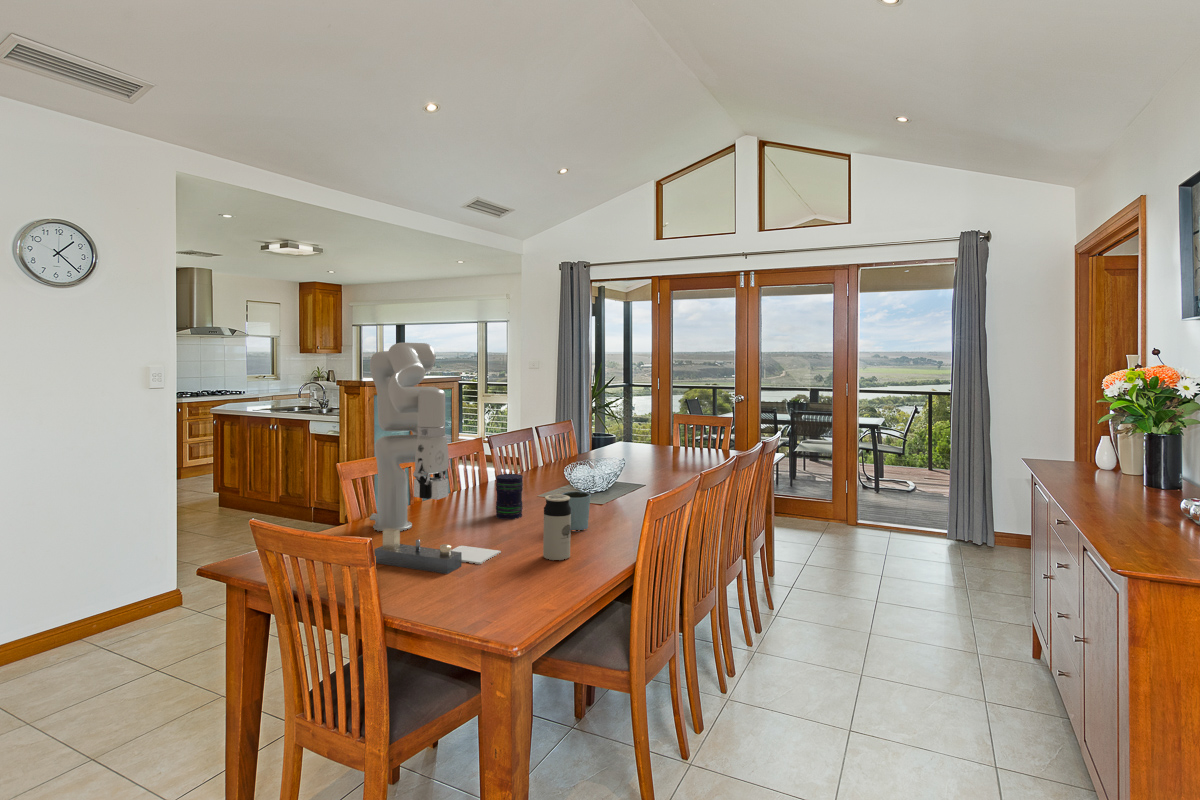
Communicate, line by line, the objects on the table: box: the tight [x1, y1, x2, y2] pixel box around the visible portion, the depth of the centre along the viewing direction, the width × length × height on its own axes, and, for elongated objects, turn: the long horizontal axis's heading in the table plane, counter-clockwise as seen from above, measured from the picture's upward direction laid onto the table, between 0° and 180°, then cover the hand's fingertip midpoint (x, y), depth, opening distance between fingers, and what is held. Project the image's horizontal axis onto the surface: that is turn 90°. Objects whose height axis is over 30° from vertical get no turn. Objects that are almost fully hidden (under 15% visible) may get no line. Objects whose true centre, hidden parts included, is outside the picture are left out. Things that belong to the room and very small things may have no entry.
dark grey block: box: [374, 528, 463, 575], centre depth 181 cm, size 24×7×9 cm, turn 70°
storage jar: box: [495, 473, 524, 520], centre depth 238 cm, size 10×10×15 cm
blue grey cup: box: [560, 490, 592, 530], centre depth 222 cm, size 10×10×12 cm
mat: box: [451, 545, 502, 565], centre depth 190 cm, size 14×12×1 cm
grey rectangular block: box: [413, 475, 449, 500], centre depth 182 cm, size 8×5×5 cm, turn 69°
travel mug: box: [542, 494, 572, 561], centre depth 190 cm, size 8×8×18 cm
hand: (431, 495), depth 182 cm, fingers closed on grey rectangular block, 5 cm apart
